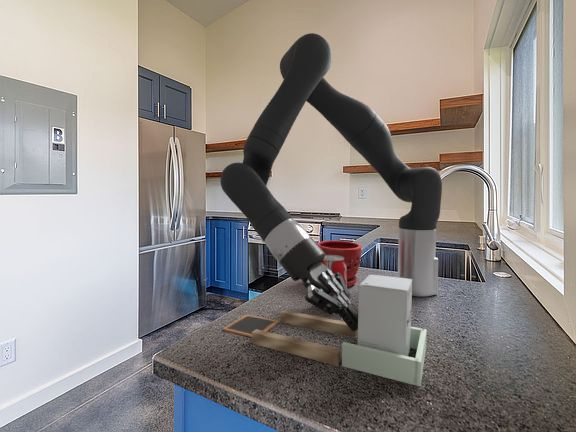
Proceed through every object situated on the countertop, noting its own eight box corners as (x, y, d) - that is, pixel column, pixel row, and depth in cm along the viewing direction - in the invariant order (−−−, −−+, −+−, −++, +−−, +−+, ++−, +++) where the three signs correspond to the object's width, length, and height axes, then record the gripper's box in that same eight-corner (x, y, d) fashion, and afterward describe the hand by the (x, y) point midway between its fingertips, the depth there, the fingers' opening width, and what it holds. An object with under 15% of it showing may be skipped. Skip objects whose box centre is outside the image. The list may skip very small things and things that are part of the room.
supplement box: (405, 374, 46) (408, 290, 45) (355, 362, 49) (357, 283, 48) (411, 352, 52) (413, 278, 51) (367, 342, 56) (368, 272, 55)
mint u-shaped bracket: (341, 366, 48) (342, 344, 48) (360, 335, 58) (361, 317, 58) (420, 386, 43) (421, 362, 43) (426, 349, 53) (426, 329, 53)
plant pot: (310, 287, 89) (310, 245, 88) (323, 276, 101) (323, 239, 100) (356, 292, 83) (356, 248, 83) (364, 280, 96) (364, 241, 95)
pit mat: (223, 329, 61) (223, 328, 61) (246, 315, 68) (246, 314, 68) (257, 338, 57) (257, 336, 57) (278, 322, 64) (278, 321, 64)
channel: (251, 343, 55) (251, 332, 55) (283, 319, 66) (283, 309, 66) (337, 365, 48) (337, 353, 48) (357, 334, 59) (358, 324, 59)
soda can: (346, 315, 68) (346, 261, 67) (314, 312, 70) (314, 259, 69) (346, 303, 75) (347, 254, 74) (317, 302, 76) (317, 253, 76)
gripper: (290, 240, 50) (365, 330, 45) (321, 231, 61) (383, 302, 57) (262, 269, 53) (330, 356, 48) (297, 255, 64) (354, 324, 60)
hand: (359, 327), depth 52 cm, fingers closed
